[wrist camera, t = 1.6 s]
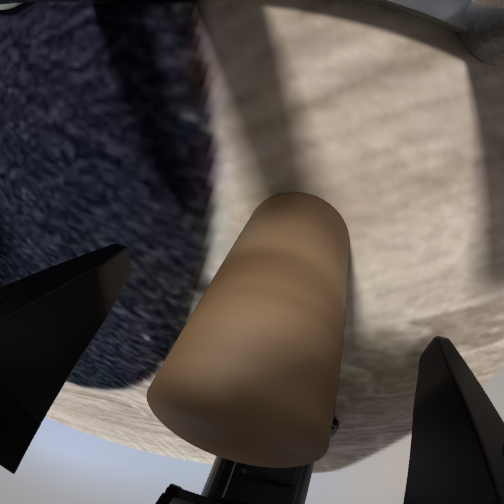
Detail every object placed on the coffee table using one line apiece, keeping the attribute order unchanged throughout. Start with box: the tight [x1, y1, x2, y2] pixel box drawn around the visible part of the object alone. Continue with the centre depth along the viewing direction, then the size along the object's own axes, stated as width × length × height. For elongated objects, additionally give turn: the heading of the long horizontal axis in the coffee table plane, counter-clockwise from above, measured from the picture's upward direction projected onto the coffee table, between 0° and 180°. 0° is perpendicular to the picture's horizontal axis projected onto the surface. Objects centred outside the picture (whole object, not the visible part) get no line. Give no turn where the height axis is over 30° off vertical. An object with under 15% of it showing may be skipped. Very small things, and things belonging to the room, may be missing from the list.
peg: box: [147, 192, 349, 468], centre depth 8 cm, size 4×4×7 cm
